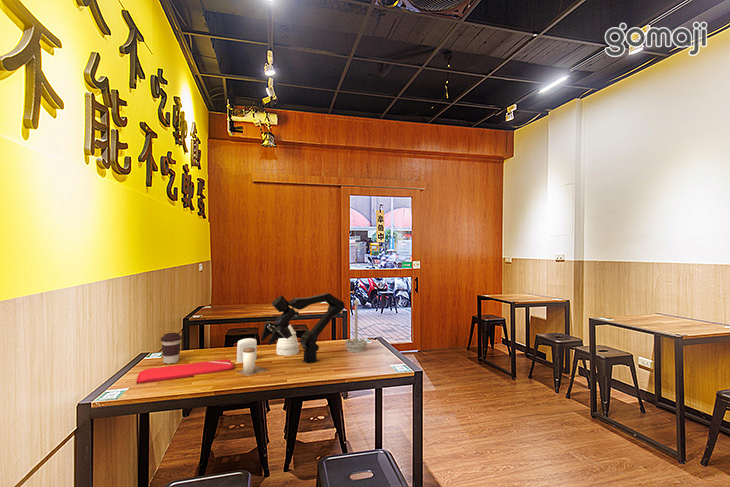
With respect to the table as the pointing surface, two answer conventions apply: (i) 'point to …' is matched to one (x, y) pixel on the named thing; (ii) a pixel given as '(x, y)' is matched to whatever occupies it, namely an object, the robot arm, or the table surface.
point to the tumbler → (248, 360)
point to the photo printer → (245, 344)
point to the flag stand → (356, 345)
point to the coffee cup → (171, 347)
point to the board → (257, 370)
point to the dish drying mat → (183, 370)
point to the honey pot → (288, 344)
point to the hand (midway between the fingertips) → (264, 342)
